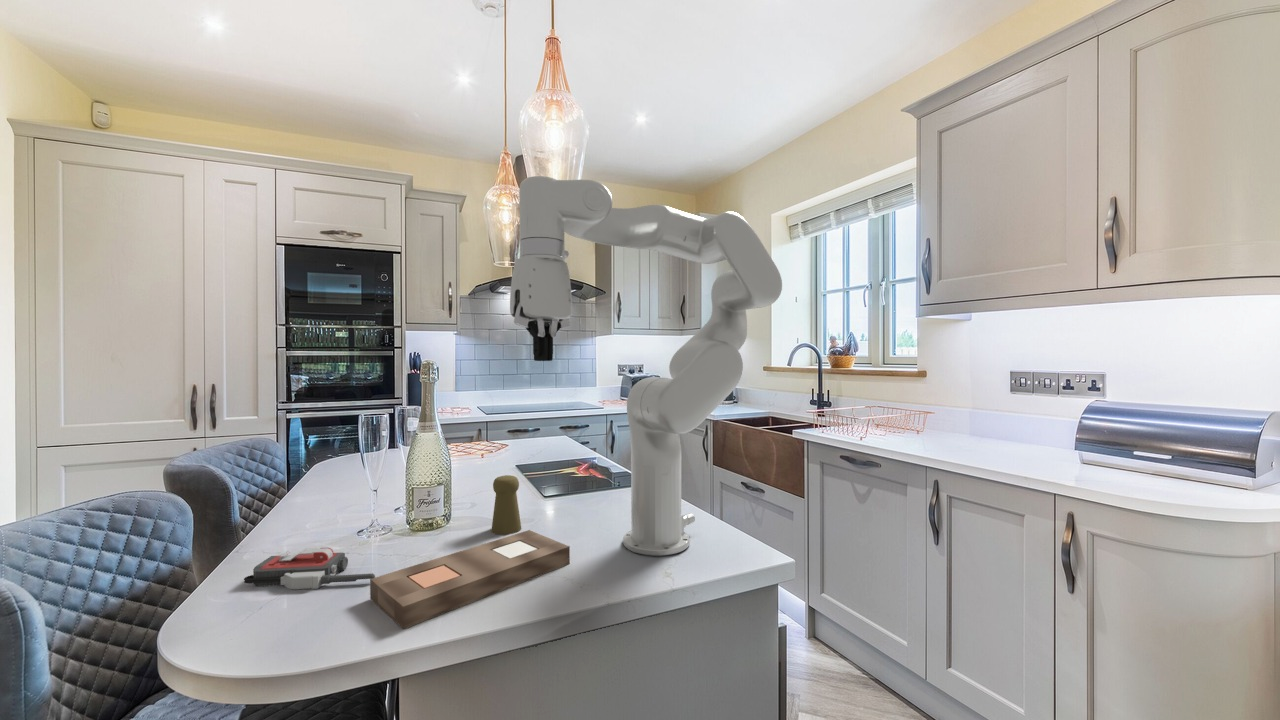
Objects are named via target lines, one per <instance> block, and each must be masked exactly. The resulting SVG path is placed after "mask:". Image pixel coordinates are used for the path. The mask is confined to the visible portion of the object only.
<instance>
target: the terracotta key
mask: <svg viewBox="0 0 1280 720" xmlns="http://www.w3.org/2000/svg"><path fill="white" fill-rule="evenodd" d="M459 576H460V575H458V574H457V573H455V572H453V571H452V570H450V569H449V568H447V567H445V566H444V565H443V566H440V567H437V568H434V569H431V570H428V571H425V572H422V573H419V574H415V575H412V576H409V579H410V580H412V581H413V582H414V583H416V584H417V585H419V586H420V587H421V588H423V589H425V588H428V587H431V586H433V585H436V584H439V583H442V582H445V581H448V580H451V579H454V578H457V577H459Z"/></svg>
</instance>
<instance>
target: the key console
mask: <svg viewBox="0 0 1280 720" xmlns="http://www.w3.org/2000/svg"><path fill="white" fill-rule="evenodd" d="M518 541H521V542H523V543H525V544H528V545H530V546H532V547H534V548H537V550H534V551H532V552H529V553H526V554H523V555H520V556H517V557H514V558H511V559H508V558H506V557H504V556H502V555H500V554H498V553H496V552H494V551H492V550H493V549H496V548H499V547H502V546H505V545H509V544H512V543H515V542H518ZM570 550H571V549H570V545H567V544H565V543H562V542H559V541H557V540H554V539H552V538H550V537H547V536H544V535H543V534H540V533H538V532H535V531H532V530H530V529H528V530H525V531H522V532H517V533H514V534H511V535H509V536H505V537H502V538H499V539H496V540H492V541H489V542H486V543H483V544H480V545H476V546H473V547H470V548H466V549H463V550H461V551H457V552H454V553H451V554H446V555H443V556H440V557H437V558H434V559H431V560H428V561H424V562H421V563H418V564H414V565H412V566H408V567H406V568H405V567H404V568H402V569H399V570H395V571H392V572H389V573H386V574H382V575H379V576H375V578H372V579H369V589H370V590H369V591H370V592H369V595H370V597H369V598H370V600H371V602H372V603H374V604H376V606H377V607H379V608H380V610H382V611H383V612H384V613H385V614H386V615H387V616H388V617H390V618H391V619H392V620H393V621H394V622H395V623H396V624H398V625H399V627H401V628H402V629H403V630H405V629H407V628H410V627H412V626H415V625H417V624H420V623H422V622H425V621H427V620H430V619H432V618H435V617H438V616H440V615H444V614H446V613H449V612H451V611H454V610H456V609H459V608H460V607H463V606H466V605H468V604H470V603H473V602H476V601H478V600H481V599H483V598H485V597H489V596H492V595H494V594H496V593H499V592H501V591H503V590H506V589H509V588H512V587H515V586H517V585H519V584H522V583H524V582H525V583H526V581H530V580H532V579H534V578H537V577H540V576H542V575H544V574H547V573H550V572H552V571H554V570H555V571H556V570H557V569H560V568H563V567H565V566H567V565H570V560H571V557H570V556H571V555H570V554H571V553H570ZM443 565H444V566H445V567H447V568H449V569H450V570H452V571H453V572H455V573H457V574H458V575H460V576H459V577H457V578H454V579H451V580H448V581H445V582H442V583H439V584H436V585H433V586H431V587H428V588H425V589H423V588H421V587H420V586H419V585H417V584H416V583H414V582H413V581H412V580H410V579H409V576H412V575H415V574H419V573H422V572H425V571H428V570H431V569H434V568H437V567H440V566H443Z"/></svg>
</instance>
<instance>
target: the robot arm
mask: <svg viewBox="0 0 1280 720" xmlns="http://www.w3.org/2000/svg"><path fill="white" fill-rule="evenodd" d="M519 184H520V185H519V189H518V191H519V192H518V194H519V197H518V200H519V201H518V202H519V205H518V206H519V208H518V209H519V258H516V259H515V261H514V266H513V269H512V276H511V281H510V282H511V283H510V284H511V285H510V295H509V311H510V312H509V313H510V316H512V317H513V318H514V320H513V323H514V325H517V326H520V327H522V328H525V329H526V331H527V332H528V333H529V336H530V337H531V338H532V353H533V360H534V361H535V362H552V361H554V360H553V359H554V338H555V337H557V333H558V332H559V330H560V329H563V328H566V327H567V328H568V327H569V326H570V323H571V322H570V318H571V316H572V311H573V304H572V303H573V299H572V297H573V296H572V287H571V286H572V285H571V278H570V272H569V267H568V263H567V262H566V261H565V259H567V258H568V257H569V254H570V253H569V251H568V250H565V249H566V248H565V246H566V245H565V234H567V235H568V236H571V237H574V238H577V239H580V240H585V241H587V242H591V243H596V244H599V245H606V246H613V247H619V248H628V249H635V250H649V251H654V252H658V253H662V254H665V255H669V256H672V257H676V258H680V259H684V260H687V261H691V262H693V263H694V262H695V263H698V264H704V265H711V264H716V263H719V262H723V261H726V262H727V263H728V266H729V268H731V269H729V270H727V271H725V272H723V273H721V274H720V275H719V276H718V277H716V279H715V280H714V281H713V284H712V288H711V293H710V295H711V297H710V298H711V315H710V317H709V319H708V321H707V322H706V323H704V325H703V326H702V327H701V328H700V329H699V330H698V331H697V332H696V333H695V334H694V335H693V336H692V337H691V338H690V339H688V340H687V341H686V342H685V343H684V344H683V345H682V346H681V347H680V348H679V349H677V350H676V352H675V353H674V354H673V355H672V358H671V360H670V363H669V366H668V368H669V369H668V371H669V374H670V377H671V378H668V377H660V376H659V377H658V376H652V377H651V376H650V377H645V378H643V379H641V380H638V381H637V382H636V383H635V384H634V385H633V386H632V387H631V389H629V392H628V395H627V400H626V413H627V422H628V427H629V435H630V475H631V476H630V479H631V480H630V485H631V486H630V487H631V488H630V490H631V491H630V492H631V493H630V495H631V497H630V498H631V499H630V500H631V502H630V503H631V510H630V513H631V519H630V520H631V521H630V524H631V530H630V531H627V532H626V533H625V534H624V535H623V538H622V539H623V540H622V541H623V546H624V547H625V548H626V549H627V550H629V551H630V552H633V553H636V554H640V555H645V556H652V557H653V556H655V557H656V556H670V555H675V554H678V553H682V552H683V551H684V550H686V549H688V547H689V546H690V542H691V541H690V540H691V539H690V536H689V535H688V534H687V532H685V528H686V527H687V526H689V525H691V524H693V523H695V521H696V517H695V515H694V514H693V513H692V512H691V513H687V514H684V515H682V446H681V439H680V435H683V434H687V433H690V432H691V431H693V430H695V429H696V428H697V427H699V426H700V425H701V424H702V423H703V422H704V421H705V420H706V419H707V418H708V417H709V416H710V415H711V414H712V413H713V412H714V411H715V410H716V409H717V408H718V407H720V405H721V404H722V403H723V401H724V400H726V399H727V398H728V397H729V395H731V394H732V393H733V391H734V390H735V389H736V388H737V386H738V384H739V383H740V380H741V378H742V374H743V368H744V363H743V359H742V356H741V353H740V349H741V348H742V347H743V345H744V344H745V342H746V340H747V336H748V318H747V316H748V315H747V310H753V309H761V308H766V307H769V306H771V305H773V304H774V303H776V302H777V301H778V299H779V298H780V296H781V294H782V291H783V280H782V275H781V273H780V270H779V269H778V267H777V265H776V263H775V262H774V260H773V259H772V257H771V255H770V254H769V252H768V251H767V248H766V246H764V243H763V242H762V240H761V238H760V237H759V235H758V234H757V233H756V231H755V230H754V229H753V227H752V226H751V224H750V223H749V222H748V221H747V220H746V219H745V217H743V216H742V215H740V214H739V213H737V212H734V211H723V212H721V213H719V214H716V215H714V216H712V217H709V218H706V217H702V216H699V215H695V214H692V213H688V212H685V211H682V210H679V209H676V208H674V207H670V206H667V205H664V204H648V205H643V206H637V207H630V208H629V207H628V208H625V207H624V208H618V207H617V208H616V207H613V197H612V193H611V192H610V190H609V189H608V188H607V186H606V185H604V184H603V183H602V182H599V181H597V180H593V179H556V178H553V177H549V176H544V175H535V176H529V177H527V178H524V179H523V180H522V181H521V182H520V183H519Z"/></svg>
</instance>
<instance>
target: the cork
mask: <svg viewBox="0 0 1280 720" xmlns="http://www.w3.org/2000/svg"><path fill="white" fill-rule="evenodd" d="M519 487H520V482H519V479H518V477H517V476H515V475H509V474H507V475H506V474H505V475H501V476H497V477H496V478H495V479H494V480H493V483H492V488H493V492H494V493H495V498H494V499H495V500H494V506H493V507H494V508H493V513H492V514H493V515H492V523H491V533H493V534H494V535H501V536H502V535H510V534H511V535H514V534H517V533H519V531H521V530H522V523H521V515H520V509H519V502H518V501H519V500H518V495H517V492H518V490H519Z"/></svg>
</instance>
